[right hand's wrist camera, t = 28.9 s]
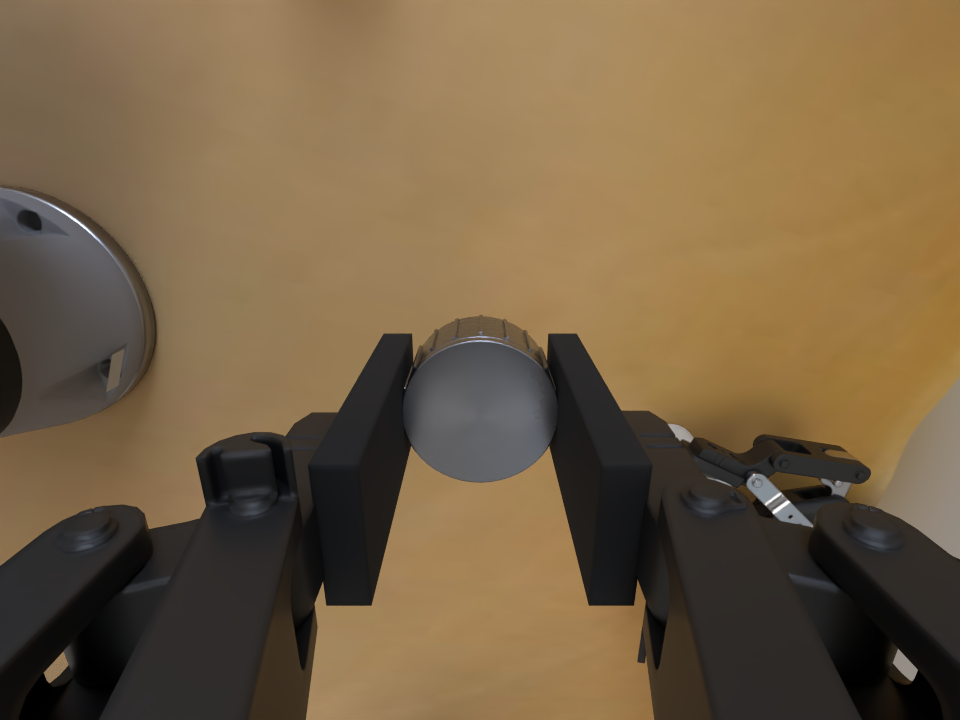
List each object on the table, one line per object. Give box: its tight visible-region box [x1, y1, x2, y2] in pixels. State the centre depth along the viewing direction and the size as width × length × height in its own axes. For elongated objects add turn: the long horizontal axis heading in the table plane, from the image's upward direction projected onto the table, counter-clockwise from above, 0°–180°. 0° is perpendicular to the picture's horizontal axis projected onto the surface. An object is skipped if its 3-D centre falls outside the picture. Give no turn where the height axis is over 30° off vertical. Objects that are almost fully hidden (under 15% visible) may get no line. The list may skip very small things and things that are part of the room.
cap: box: [402, 315, 558, 482], centre depth 13 cm, size 4×4×2 cm
